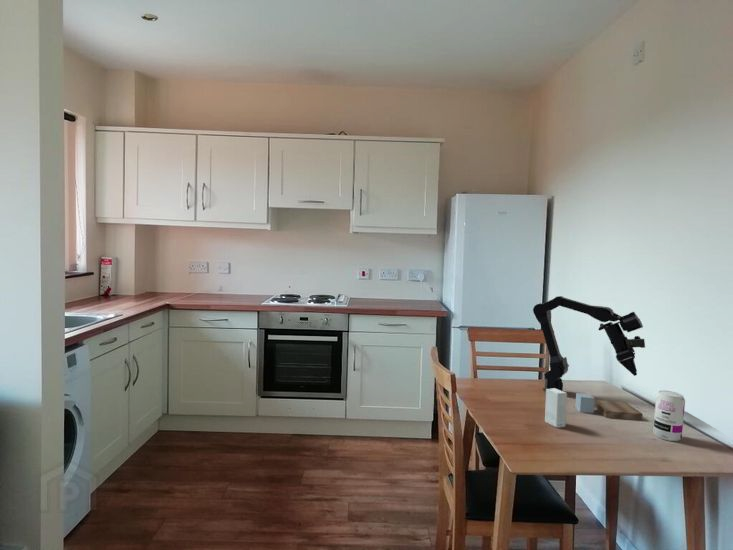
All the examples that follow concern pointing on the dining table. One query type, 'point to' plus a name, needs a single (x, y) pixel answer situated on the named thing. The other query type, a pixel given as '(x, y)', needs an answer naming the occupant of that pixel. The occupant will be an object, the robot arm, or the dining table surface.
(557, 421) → the skincare box
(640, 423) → the dining table surface
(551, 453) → the dining table surface
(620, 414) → the walnut base
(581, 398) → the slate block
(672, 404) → the supplement can
